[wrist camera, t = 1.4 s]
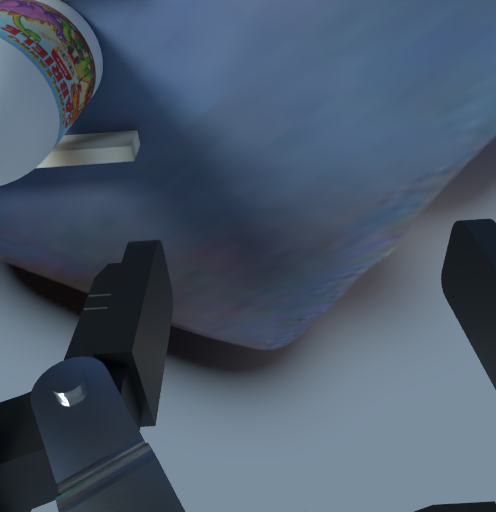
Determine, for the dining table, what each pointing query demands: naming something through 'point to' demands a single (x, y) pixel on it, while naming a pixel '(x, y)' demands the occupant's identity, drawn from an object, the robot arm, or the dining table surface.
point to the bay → (94, 149)
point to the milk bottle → (42, 79)
